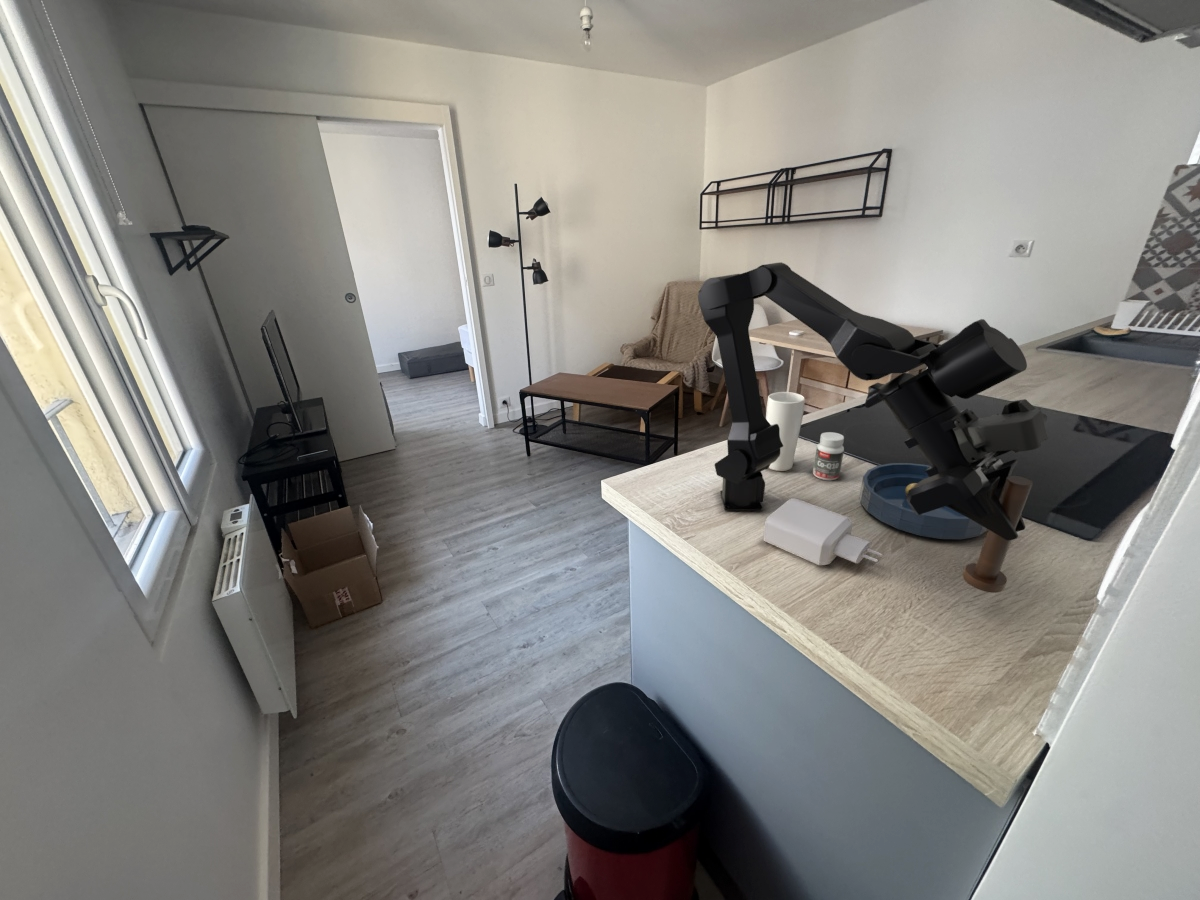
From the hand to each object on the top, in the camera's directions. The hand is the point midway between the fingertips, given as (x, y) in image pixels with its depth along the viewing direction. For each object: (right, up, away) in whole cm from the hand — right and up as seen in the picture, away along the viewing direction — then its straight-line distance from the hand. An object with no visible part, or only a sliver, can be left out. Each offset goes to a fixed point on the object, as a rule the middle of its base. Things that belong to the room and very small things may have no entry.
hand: (1016, 534), depth 52 cm
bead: (+7, +2, +28) cm, 29 cm away
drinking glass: (-10, +6, +44) cm, 45 cm away
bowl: (+7, -1, +26) cm, 27 cm away
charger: (-13, -6, +19) cm, 23 cm away
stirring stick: (0, -6, +4) cm, 8 cm away
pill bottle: (-2, +4, +39) cm, 40 cm away
